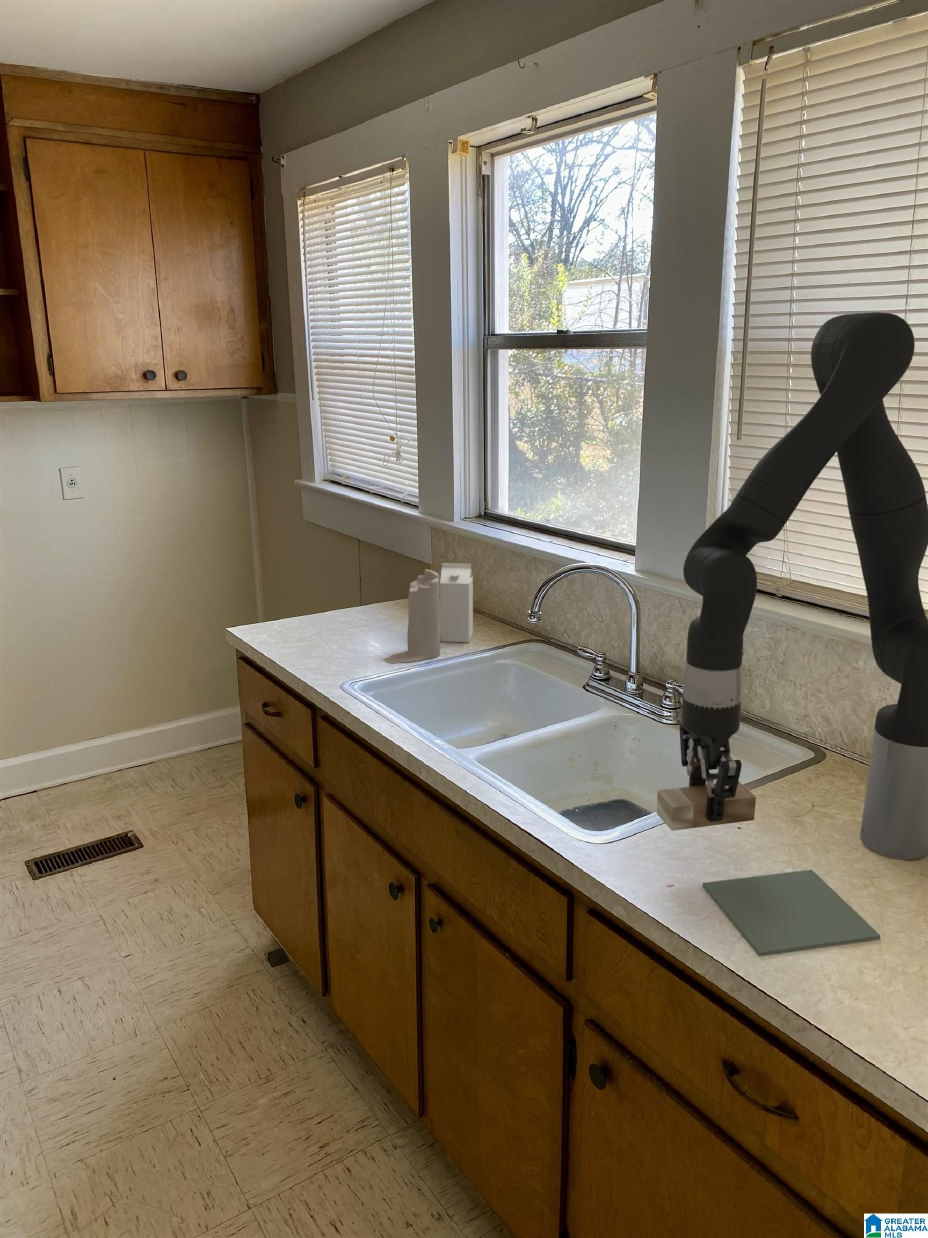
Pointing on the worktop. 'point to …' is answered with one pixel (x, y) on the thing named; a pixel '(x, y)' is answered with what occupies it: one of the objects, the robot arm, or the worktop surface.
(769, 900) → the sage mat
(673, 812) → the stepped wooden block
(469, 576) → the milk carton
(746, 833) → the worktop surface
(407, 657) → the candle
